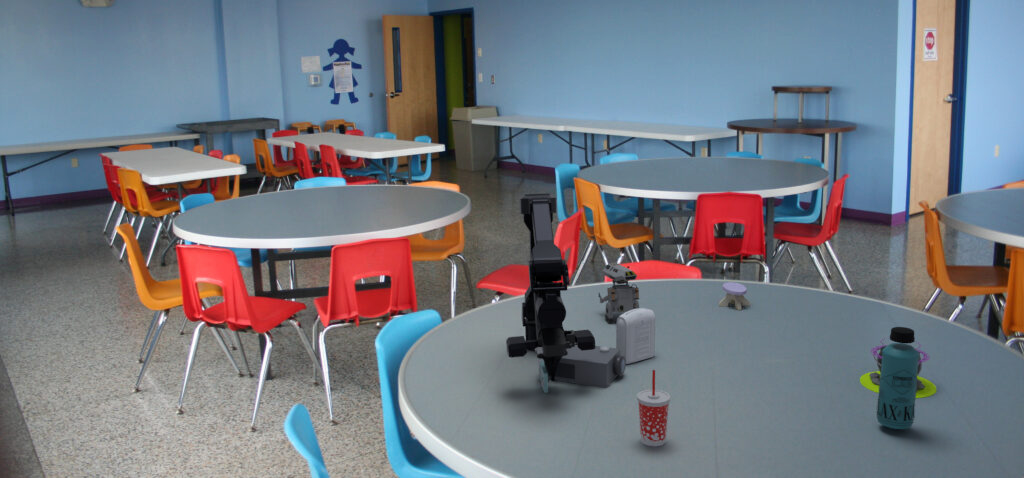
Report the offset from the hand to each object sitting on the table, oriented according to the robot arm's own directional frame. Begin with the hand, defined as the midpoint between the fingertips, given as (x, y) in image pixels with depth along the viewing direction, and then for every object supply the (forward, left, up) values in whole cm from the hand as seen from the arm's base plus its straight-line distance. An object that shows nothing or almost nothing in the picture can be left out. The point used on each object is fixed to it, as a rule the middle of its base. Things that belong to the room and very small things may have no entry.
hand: (552, 380), depth 175 cm
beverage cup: (+27, -16, -2) cm, 31 cm away
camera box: (+3, +10, -2) cm, 11 cm away
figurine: (-1, +53, -2) cm, 53 cm away
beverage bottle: (+68, +5, -2) cm, 68 cm away
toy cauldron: (+68, +29, -3) cm, 74 cm away
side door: (-3, +1, -2) cm, 4 cm away
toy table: (+26, +76, -3) cm, 80 cm away
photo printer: (+12, +24, -2) cm, 27 cm away
